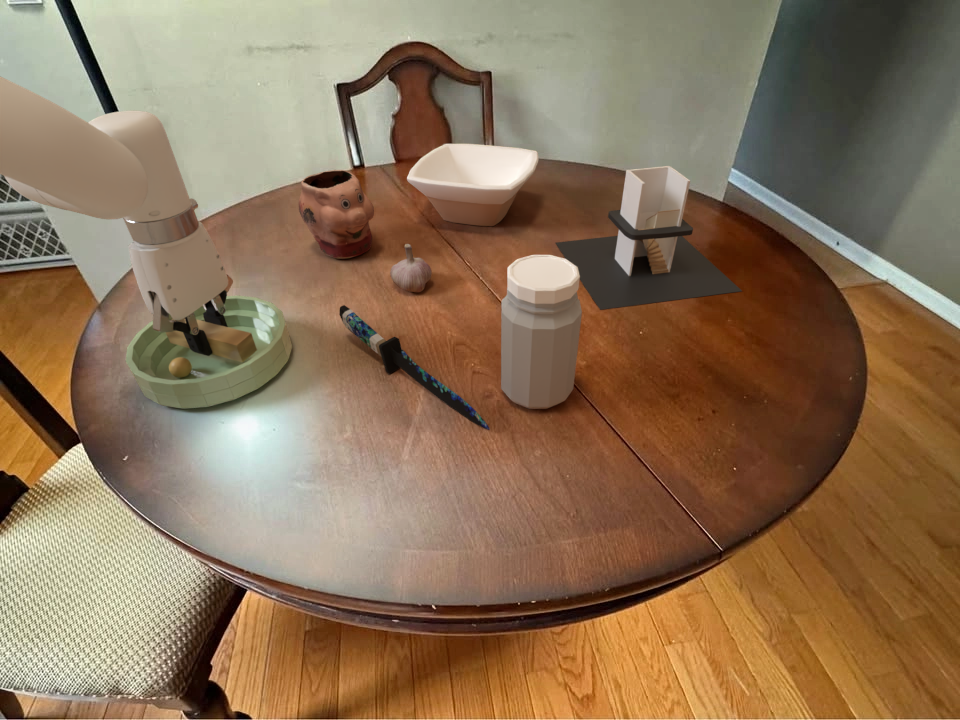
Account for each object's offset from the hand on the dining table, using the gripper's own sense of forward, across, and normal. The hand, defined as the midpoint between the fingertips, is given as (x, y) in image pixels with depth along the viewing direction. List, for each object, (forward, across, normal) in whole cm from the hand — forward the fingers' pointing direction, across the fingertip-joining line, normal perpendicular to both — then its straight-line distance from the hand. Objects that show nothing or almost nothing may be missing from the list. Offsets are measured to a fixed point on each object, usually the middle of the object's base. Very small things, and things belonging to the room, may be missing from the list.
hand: (212, 344), depth 78 cm
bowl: (+4, -61, +16) cm, 63 cm away
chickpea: (+3, +5, -2) cm, 6 cm away
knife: (+4, -6, +28) cm, 29 cm away
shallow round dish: (+3, 0, 0) cm, 3 cm away
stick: (0, 0, 0) cm, 0 cm away
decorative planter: (+4, -37, -4) cm, 38 cm away
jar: (+4, -11, +44) cm, 46 cm away
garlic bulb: (+4, -29, +16) cm, 33 cm away
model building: (+4, -49, +52) cm, 72 cm away
